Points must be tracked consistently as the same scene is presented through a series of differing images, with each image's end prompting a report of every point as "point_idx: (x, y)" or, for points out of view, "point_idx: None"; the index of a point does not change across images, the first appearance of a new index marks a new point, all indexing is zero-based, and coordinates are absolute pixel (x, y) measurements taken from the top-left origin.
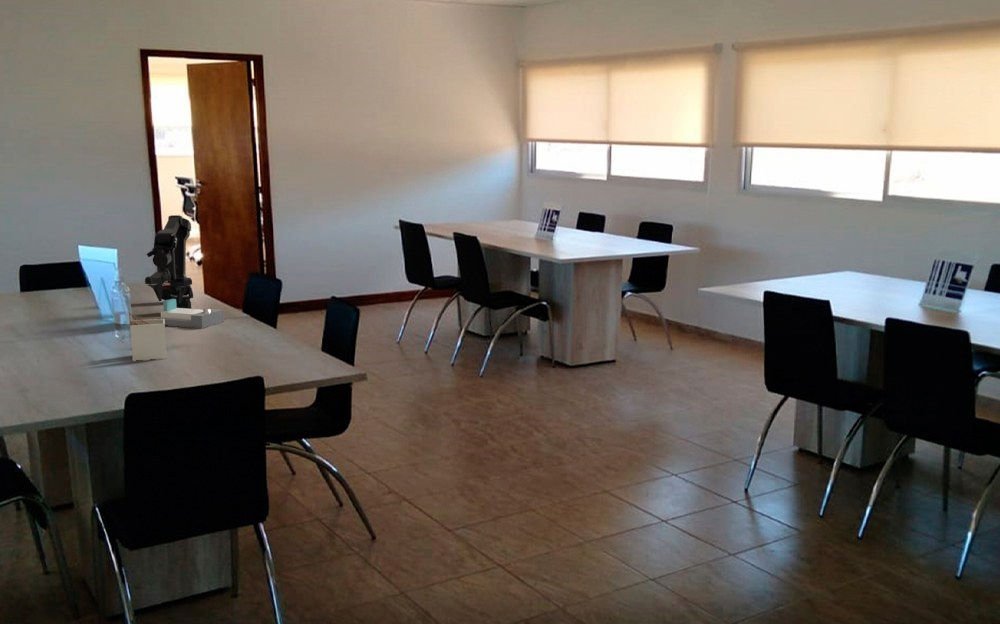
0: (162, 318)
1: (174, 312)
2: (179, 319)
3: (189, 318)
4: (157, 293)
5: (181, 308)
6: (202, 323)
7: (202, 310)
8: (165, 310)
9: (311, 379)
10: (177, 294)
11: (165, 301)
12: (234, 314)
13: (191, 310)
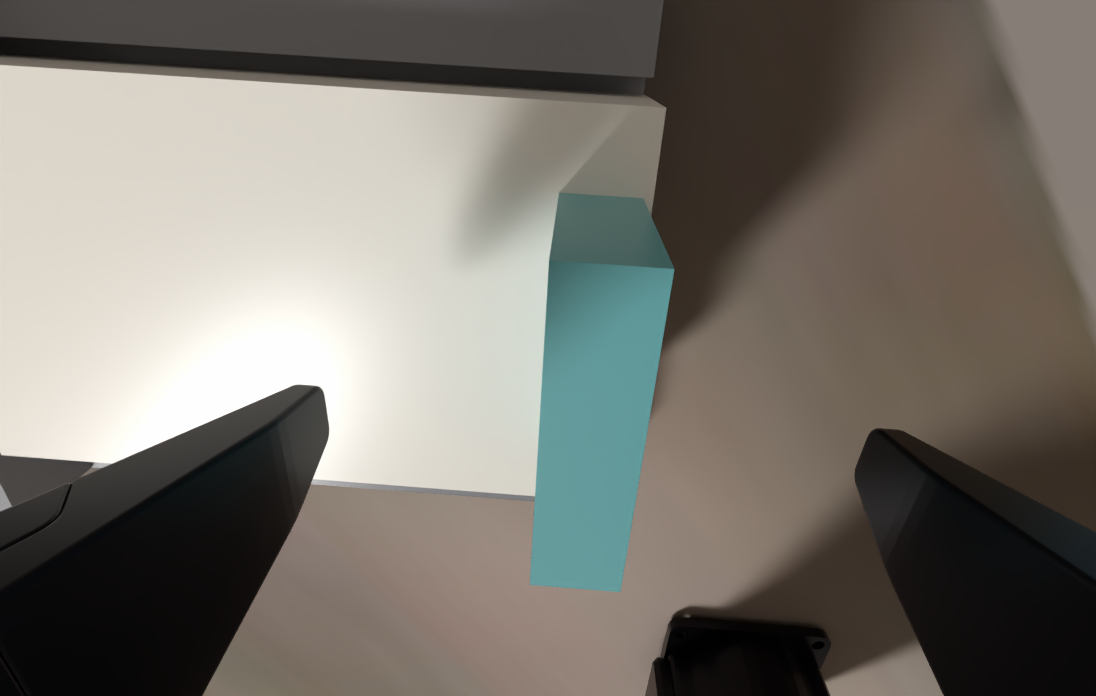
0: (579, 28)
1: (329, 121)
2: (218, 34)
3: (13, 59)
4: (1079, 569)
5: (474, 470)
6: None
7: (48, 415)
8: (598, 199)
9: None
10: (128, 502)
11: (584, 262)
12: (225, 674)
13: (198, 374)
